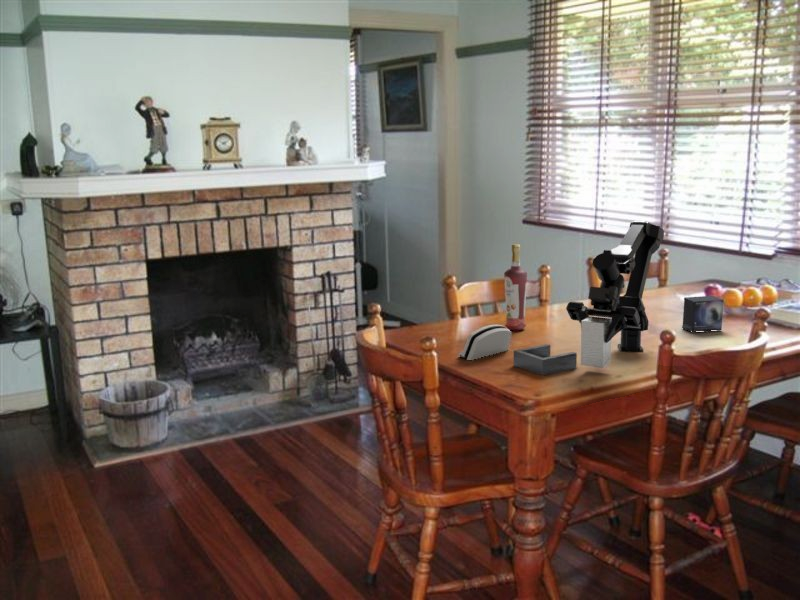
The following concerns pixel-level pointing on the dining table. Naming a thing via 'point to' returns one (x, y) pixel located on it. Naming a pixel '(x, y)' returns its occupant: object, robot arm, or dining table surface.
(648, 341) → the dining table surface
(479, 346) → the grey rounded block
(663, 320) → the dining table surface
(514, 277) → the liquor
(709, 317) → the small box
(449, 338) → the dining table surface
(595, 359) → the block
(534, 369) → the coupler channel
